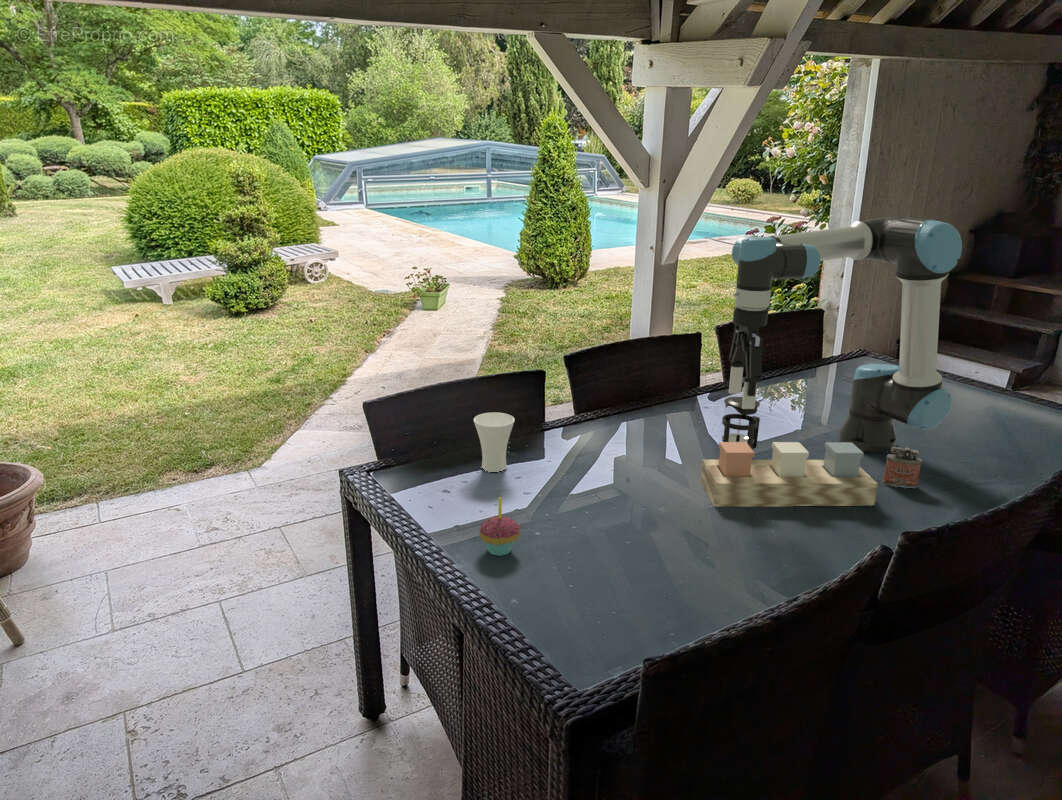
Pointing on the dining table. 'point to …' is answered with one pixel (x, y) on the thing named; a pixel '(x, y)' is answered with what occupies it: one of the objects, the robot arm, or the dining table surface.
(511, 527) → the cupcake
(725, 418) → the french press
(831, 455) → the slate key
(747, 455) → the terracotta key
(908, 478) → the lighter
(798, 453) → the cream key
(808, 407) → the dining table surface
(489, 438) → the cup
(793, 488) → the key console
